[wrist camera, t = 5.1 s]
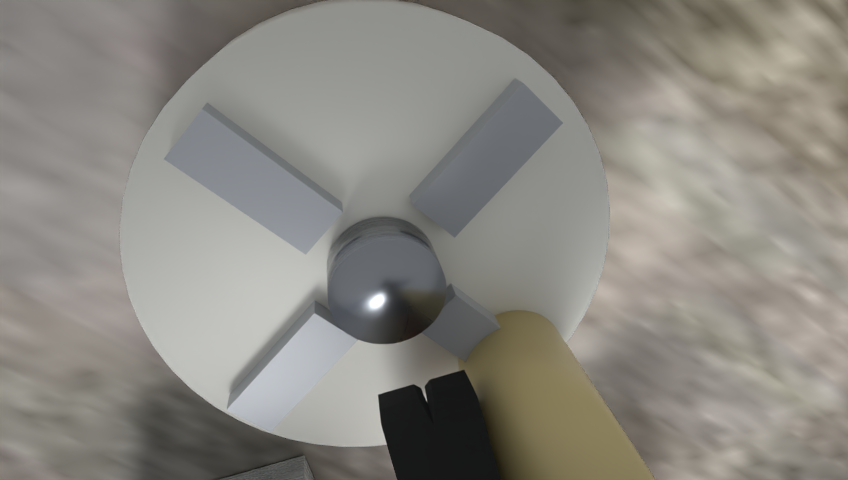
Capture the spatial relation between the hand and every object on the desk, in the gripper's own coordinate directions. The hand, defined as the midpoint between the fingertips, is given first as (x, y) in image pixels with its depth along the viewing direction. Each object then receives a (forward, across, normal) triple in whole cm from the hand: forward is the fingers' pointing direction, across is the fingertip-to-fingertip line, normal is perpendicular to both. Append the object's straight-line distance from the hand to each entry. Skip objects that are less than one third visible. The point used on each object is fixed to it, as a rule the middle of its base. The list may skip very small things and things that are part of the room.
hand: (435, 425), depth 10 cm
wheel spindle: (+1, 0, -3) cm, 3 cm away
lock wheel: (+3, 0, -3) cm, 4 cm away
